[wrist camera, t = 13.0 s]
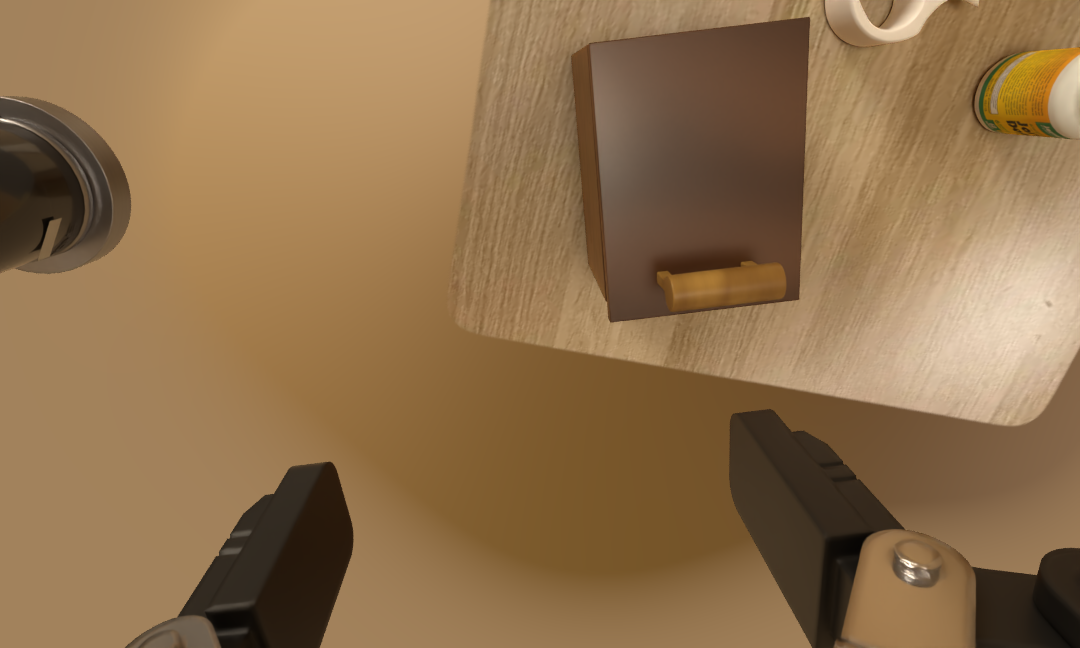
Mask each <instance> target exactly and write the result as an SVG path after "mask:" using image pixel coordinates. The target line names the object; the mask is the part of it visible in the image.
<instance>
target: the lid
mask: <svg viewBox="0 0 1080 648" xmlns="http://www.w3.org/2000/svg"><path fill="white" fill-rule="evenodd" d="M809 28H810V17H805V18H797V19H789V20H780V21H772V22H763V23H755V24H747V25H738V26H730V27H721V28H713V29H704V30H696V31H688V32H679V33H671V34H662V35H654V36H646V37H637V38H629V39H620V40H612V41H604V42H595V43H589V44H588V46H587V48H588V61H589V74H590V87H591V100H592V113H593V126H594V139H595V152H596V165H597V178H598V191H599V204H600V217H601V229H602V242H603V255H604V268H605V281H606V294H607V307H608V318H609V320H610V322H619V321H627V320H635V319H644V318H652V317H660V316H668V315H677V314H685V313H693V312H701V311H710V310H718V309H726V308H734V307H743V306H751V305H759V304H768V303H776V302H784V301H792V300H799V287H800V261H801V235H802V209H803V183H804V158H805V132H806V106H807V80H808V54H809Z"/></svg>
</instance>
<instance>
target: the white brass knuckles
mask: <svg viewBox="0 0 1080 648" xmlns="http://www.w3.org/2000/svg"><path fill="white" fill-rule="evenodd" d="M946 1H948V0H894V1H893V6H892V9H891V12H890V14H889V16H888V18H887V19H886V21H885V22H884V23H883V24H882V25H881V26H880V27H879V28H877V27H876V26H874V25H873V24H872V23H871V22H870V21H869V20H868V18H867V16H866V14H865V12H864V10H863V8H862V6H861V3H860V0H825V11H826V16H827V20H828V22H829V25H830V27H831V28H832V30H833V31H834V33H835V34H836V35H837V36H838V37H839V38H840V39H841V40H843V41H844V42H846V43H848V44H851V45H854V46H860V47H868V46H876V45H883V44H890V43H897V42H901V41H905V40H907V39H910V38H912V37H914V36H916V35H917V34H919V33H920V30H921V28H922V27H923V25H924V23H925V22H926V20H927V19H928V17H929V16H930V15H931V14H932V13H933V12H934V11H935V10H936V9H937V8H938V7H939V6H940V5H942V4H943V3H944V2H946ZM964 1H966V2H968V3H970V4H972V5H974V6H976V7H978V5H979V0H964Z"/></svg>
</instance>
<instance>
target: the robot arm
mask: <svg viewBox="0 0 1080 648" xmlns="http://www.w3.org/2000/svg"><path fill="white" fill-rule="evenodd" d="M92 218H93V197H92V192H91V188H90V185H89V182H88V180H87V178H86V176H85V174H84V172H83V170H82V168H81V167H80V165H79V163H78V162H77V161H76V159H75V158H74V157H73V156H72V154H71V153H70V152H69V151H68V150H67V149H66V148H65V147H64V146H63V145H62V144H61V143H60V142H58V141H57V140H56V139H55V138H53V137H52V136H51V135H49V134H47V133H46V132H44V131H43V130H41V129H39V128H37V127H35V126H33V125H30V124H28V123H25V122H22V121H19V120H15V119H9V118H3V117H1V116H0V273H2V272H5V271H8V270H11V269H14V268H17V267H19V266H22V265H25V264H28V263H31V262H35V261H39V260H42V259H45V258H49V257H53V256H56V255H58V254H61V253H64V252H66V251H68V250H70V249H72V248H73V247H75V246H76V245H77V244H78V243H80V241H81V240H82V239H83V238H84V237H85V235H86V234H87V232H88V230H89V228H90V225H91V222H92ZM729 477H730V488H731V493H732V497H733V501H734V504H735V506H736V509H737V511H738V513H739V515H740V516H741V518H742V520H743V522H744V523H745V525H746V527H747V529H748V531H749V532H750V535H751V537H752V538H753V540H754V542H755V544H756V546H757V547H758V549H759V551H760V553H761V555H762V557H763V558H764V560H765V562H766V564H767V566H768V567H769V569H770V571H771V573H772V575H773V577H774V578H775V580H776V582H777V584H778V586H779V588H780V589H781V591H782V593H783V595H784V597H785V599H786V600H787V602H788V604H789V606H790V607H791V609H792V611H793V613H794V614H795V617H796V619H797V620H798V622H799V624H800V626H801V628H802V629H803V631H804V633H805V635H806V637H807V638H808V640H809V642H810V644H811V646H812V648H1080V549H1079V548H1063V549H1057V550H1054V551H1051V552H1049V553H1047V554H1046V555H1045V556H1044V557H1043V558H1042V560H1041V563H1040V567H1039V570H1038V574H1037V575H1031V574H1023V573H1014V572H1005V571H997V570H989V569H981V568H976V567H971V565H970V564H969V562H968V561H967V560H966V559H965V558H964V557H963V556H962V555H961V554H960V553H959V552H958V551H956V550H955V549H954V548H952V547H951V546H949V545H948V544H946V543H944V542H942V541H940V540H938V539H936V538H934V537H931V536H929V535H926V534H923V533H919V532H915V531H910V530H905V529H904V528H903V527H902V526H901V524H900V523H899V522H898V521H897V520H896V519H895V518H894V517H893V516H892V515H891V514H890V513H889V511H888V510H887V509H886V508H885V507H884V506H883V505H882V504H881V503H880V502H879V500H878V499H877V498H876V497H875V496H874V495H873V494H872V493H871V492H870V490H869V489H868V488H867V487H866V486H865V485H864V484H863V483H862V482H861V481H860V480H857V479H856V475H855V474H854V473H853V472H852V471H851V470H850V469H849V467H848V466H847V465H844V464H843V461H842V460H841V459H840V458H839V456H838V455H837V454H836V453H835V452H834V451H833V450H832V449H831V448H830V447H829V446H828V444H826V443H824V442H823V441H821V440H819V439H817V438H815V437H813V436H812V435H810V434H808V433H807V432H805V431H796V432H791V431H790V429H789V428H788V427H787V426H786V425H785V423H783V421H782V420H781V419H780V417H779V416H778V415H777V414H776V413H775V412H774V411H773V410H771V409H767V410H759V411H751V412H743V413H735V414H733V415H732V416H731V420H730V472H729ZM352 550H353V527H352V523H351V519H350V515H349V512H348V508H347V505H346V501H345V498H344V494H343V491H342V487H341V484H340V480H339V477H338V473H337V470H336V468H335V466H334V465H333V463H331V462H323V463H315V464H307V465H299V466H292V467H291V468H290V469H289V470H288V472H287V473H286V475H285V476H284V478H283V480H282V482H281V483H280V485H279V487H278V488H277V490H276V491H275V493H274V494H270V495H265V496H264V497H262V498H261V499H260V500H259V501H258V502H257V503H255V504H254V505H253V506H252V507H251V508H250V509H248V510H247V511H246V512H245V513H244V514H243V515H242V517H241V518H240V520H239V522H238V523H237V525H236V526H235V528H234V529H233V531H232V532H231V534H230V539H227V540H226V542H225V543H224V545H223V547H222V548H221V550H220V551H219V556H216V557H215V559H214V561H213V562H212V564H211V565H210V567H209V568H208V570H207V572H206V573H205V575H204V576H203V578H202V579H201V581H200V582H199V584H198V586H197V587H196V589H195V590H194V592H193V593H192V595H191V597H190V598H189V600H188V601H187V603H186V604H185V606H184V608H183V609H182V611H181V612H180V614H179V616H178V617H177V618H173V619H170V620H168V621H165V622H162V623H160V624H158V625H156V626H155V627H152V628H151V629H149V630H147V631H146V632H144V633H143V634H141V635H140V636H138V637H137V638H135V640H133V641H132V642H131V643H130V644H128V645H127V646H126V647H125V648H320V645H321V642H322V639H323V636H324V633H325V631H326V627H327V625H328V622H329V619H330V616H331V613H332V610H333V607H334V604H335V602H336V599H337V596H338V593H339V590H340V587H341V584H342V581H343V578H344V576H345V573H346V570H347V567H348V564H349V561H350V558H351V555H352Z"/></svg>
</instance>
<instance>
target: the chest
mask: <svg viewBox="0 0 1080 648" xmlns="http://www.w3.org/2000/svg"><path fill="white" fill-rule="evenodd" d="M587 46H588V45H587ZM587 46H585V47H584V48H582V49H581V50H579V51H577V52H576V53H574V54H573V55H572V56H571V61H572V73H573V85H574V97H575V109H576V121H577V133H578V145H579V157H580V170H581V182H582V194H583V206H584V218H585V230H586V242H587V254H588V264H589V266H590V268H591V271H592V273H593V275H594V277H595V279H596V281H597V283H598V286H599V288H600V290H601V292H602V294H603V296H604V298H605V301H607V294H606V281H605V268H604V255H603V242H602V229H601V217H600V204H599V191H598V178H597V165H596V152H595V139H594V126H593V113H592V100H591V87H590V74H589V61H588V48H587Z"/></svg>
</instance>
